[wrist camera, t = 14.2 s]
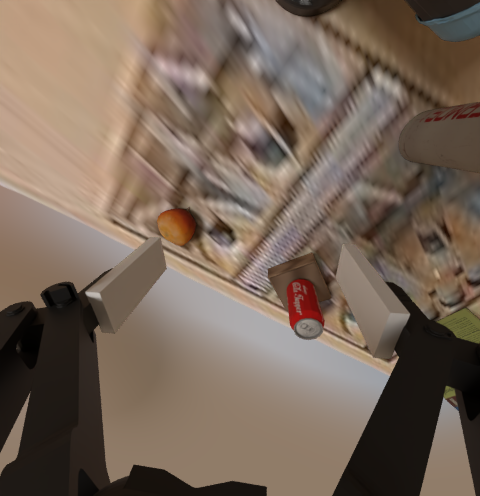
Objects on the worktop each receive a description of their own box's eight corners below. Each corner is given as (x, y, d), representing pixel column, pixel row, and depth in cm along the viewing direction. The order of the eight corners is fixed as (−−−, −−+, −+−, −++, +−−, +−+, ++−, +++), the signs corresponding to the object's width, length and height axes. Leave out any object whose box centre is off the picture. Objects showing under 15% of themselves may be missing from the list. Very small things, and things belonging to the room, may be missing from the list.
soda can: (320, 285, 49) (334, 327, 38) (302, 303, 52) (311, 346, 41) (297, 272, 48) (304, 310, 37) (280, 291, 51) (283, 332, 40)
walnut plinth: (312, 252, 50) (315, 261, 46) (327, 288, 54) (332, 299, 50) (268, 268, 53) (267, 278, 50) (285, 301, 57) (286, 312, 53)
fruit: (211, 225, 48) (186, 247, 44) (193, 232, 54) (170, 252, 49) (189, 194, 46) (160, 213, 41) (173, 204, 52) (146, 223, 47)
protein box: (402, 337, 58) (444, 399, 44) (465, 306, 51) (537, 368, 38) (424, 357, 60) (471, 423, 46) (487, 330, 54) (563, 397, 40)
